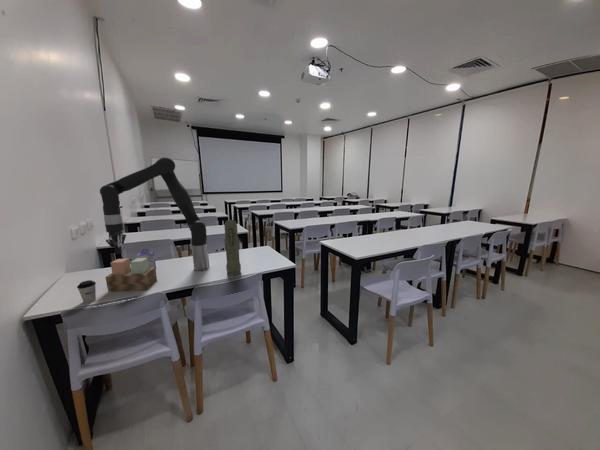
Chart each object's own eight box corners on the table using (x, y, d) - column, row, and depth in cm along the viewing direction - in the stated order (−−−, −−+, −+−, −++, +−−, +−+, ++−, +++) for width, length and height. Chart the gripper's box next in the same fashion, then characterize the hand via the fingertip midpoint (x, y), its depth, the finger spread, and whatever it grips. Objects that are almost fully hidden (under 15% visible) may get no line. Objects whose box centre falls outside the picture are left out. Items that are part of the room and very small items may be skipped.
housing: (157, 281, 136) (155, 267, 135) (147, 290, 126) (145, 274, 124) (121, 283, 134) (119, 268, 132) (108, 292, 123) (105, 276, 122)
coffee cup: (77, 302, 113) (73, 284, 111) (93, 296, 119) (90, 278, 117) (85, 305, 110) (81, 286, 108) (102, 298, 117) (98, 280, 115)
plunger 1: (131, 274, 131) (129, 258, 129) (125, 279, 126) (122, 262, 124) (120, 275, 131) (117, 258, 129) (113, 279, 125) (110, 262, 123)
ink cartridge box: (156, 268, 157) (153, 248, 154) (155, 270, 152) (152, 250, 150) (139, 270, 153) (136, 250, 150) (137, 273, 148) (134, 252, 145)
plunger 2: (150, 273, 133) (147, 257, 131) (144, 278, 127) (141, 261, 125) (139, 274, 132) (136, 258, 130) (132, 278, 126) (130, 261, 124)
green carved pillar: (239, 269, 154) (236, 218, 148) (242, 275, 144) (238, 221, 137) (226, 271, 151) (222, 219, 144) (227, 278, 140) (223, 222, 134)
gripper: (112, 224, 116) (118, 257, 119) (129, 220, 129) (133, 249, 132) (96, 225, 115) (102, 257, 119) (114, 220, 128) (119, 250, 131)
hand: (118, 253), depth 125 cm, fingers closed
